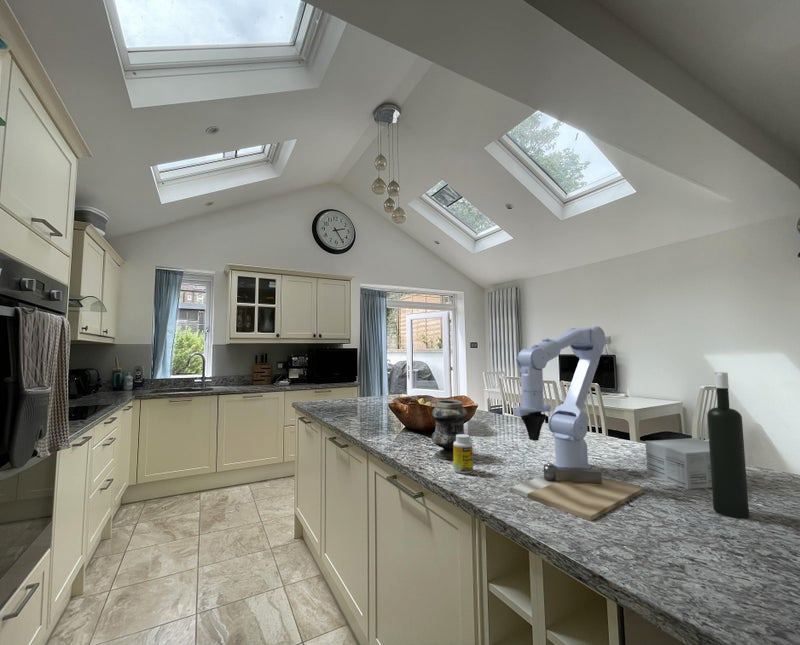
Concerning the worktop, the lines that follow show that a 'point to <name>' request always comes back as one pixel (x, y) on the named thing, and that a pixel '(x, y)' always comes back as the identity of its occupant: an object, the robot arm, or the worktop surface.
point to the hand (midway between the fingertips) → (533, 439)
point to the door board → (578, 495)
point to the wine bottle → (727, 455)
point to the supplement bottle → (463, 454)
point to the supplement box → (680, 461)
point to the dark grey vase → (448, 426)
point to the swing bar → (572, 474)
